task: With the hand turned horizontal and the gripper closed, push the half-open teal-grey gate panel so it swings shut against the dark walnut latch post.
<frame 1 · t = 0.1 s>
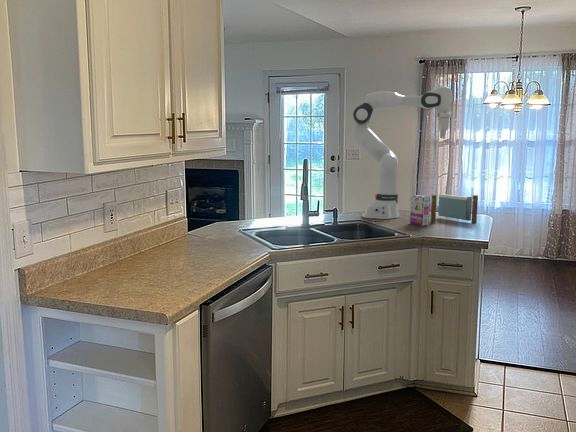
hand: (442, 138, 329), 48 cm above the counter, tool pointing down, fingers open, 8 cm apart
gate: (454, 206, 327), point 8 cm above the counter, hinge at 45.0°
candy bar box: (419, 224, 315), on the counter
gate post: (473, 223, 319), on the counter
latch post: (433, 222, 321), on the counter
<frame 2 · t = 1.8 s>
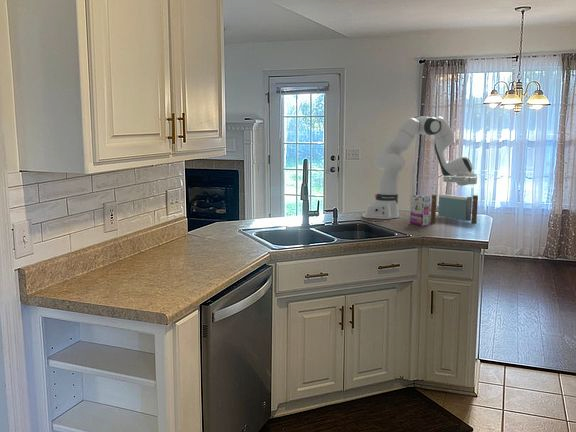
hand: (457, 180, 339), 22 cm above the counter, tool horizontal, fingers open, 7 cm apart
nothing on the counter moved.
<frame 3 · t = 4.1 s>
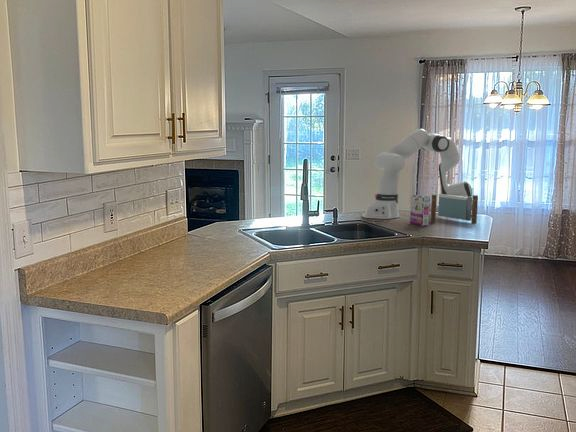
hand: (455, 206, 342), 6 cm above the counter, tool horizontal, fingers closed
nothing on the counter moved.
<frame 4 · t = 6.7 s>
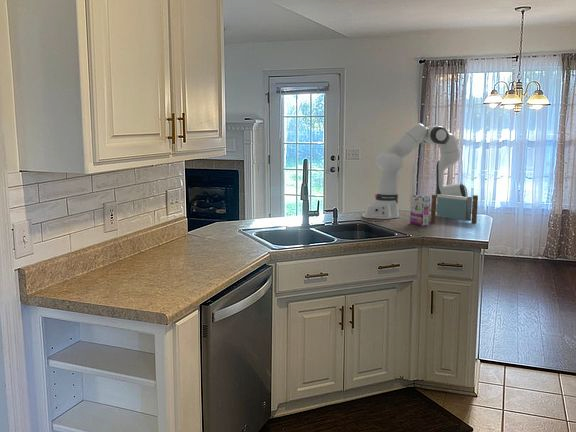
hand: (449, 209, 331), 6 cm above the counter, tool horizontal, fingers closed
gate: (453, 206, 327), point 8 cm above the counter, hinge at 40.6°, touching gripper
everything else where it was.
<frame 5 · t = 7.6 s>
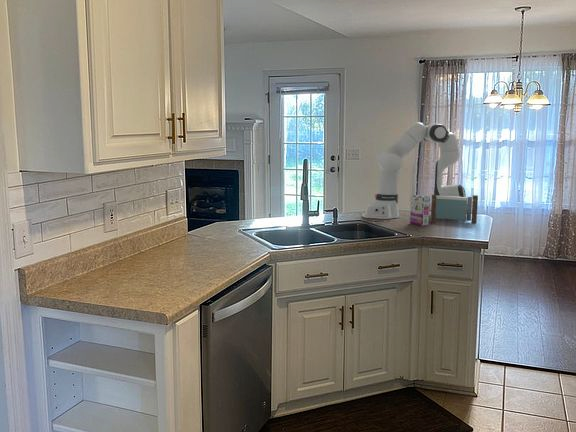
hand: (446, 211, 326), 6 cm above the counter, tool horizontal, fingers closed, pressing on gate
gate: (451, 207, 324), point 8 cm above the counter, hinge at 20.7°, touching gripper
everything else where it was.
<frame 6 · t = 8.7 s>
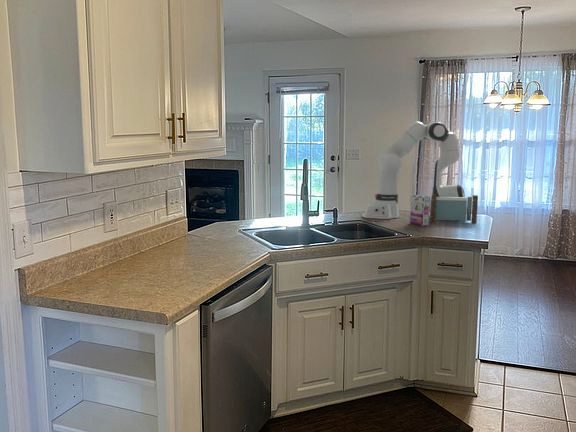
hand: (446, 212, 323), 6 cm above the counter, tool horizontal, fingers closed
gate: (450, 208, 321), point 8 cm above the counter, hinge at -0.3°, touching gripper
everything else where it was.
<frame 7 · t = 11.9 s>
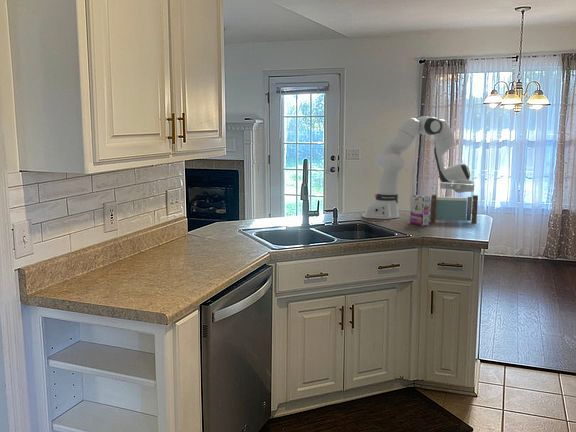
hand: (454, 187, 336), 19 cm above the counter, tool horizontal, fingers closed
gate: (450, 208, 321), point 8 cm above the counter, hinge at -0.3°
everything else where it was.
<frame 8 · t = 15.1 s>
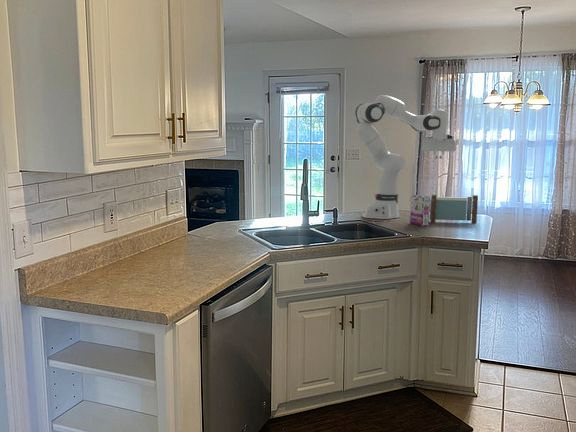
hand: (438, 158, 345), 35 cm above the counter, tool pointing down, fingers closed
nothing on the counter moved.
at the end: gate at +0° (first picture: +45°); candy bar box moved 0.2 cm from its start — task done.
